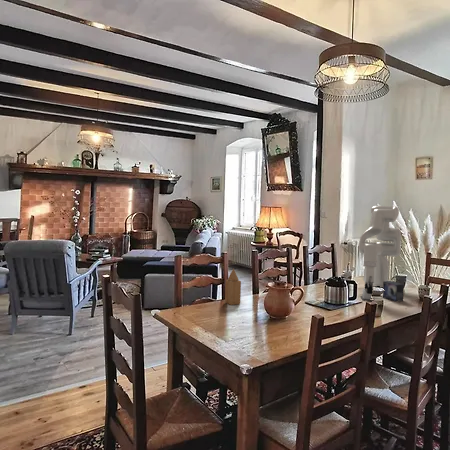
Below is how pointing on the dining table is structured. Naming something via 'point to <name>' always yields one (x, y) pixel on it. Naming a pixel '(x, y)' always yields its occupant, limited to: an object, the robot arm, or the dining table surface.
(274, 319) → the dining table surface
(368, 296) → the link
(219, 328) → the dining table surface
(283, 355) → the dining table surface
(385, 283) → the small box
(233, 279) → the decorative item
